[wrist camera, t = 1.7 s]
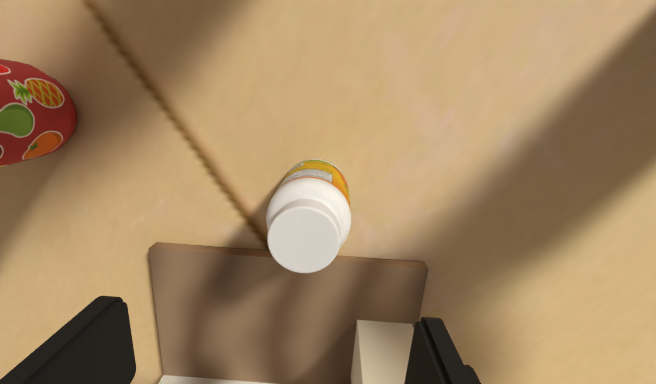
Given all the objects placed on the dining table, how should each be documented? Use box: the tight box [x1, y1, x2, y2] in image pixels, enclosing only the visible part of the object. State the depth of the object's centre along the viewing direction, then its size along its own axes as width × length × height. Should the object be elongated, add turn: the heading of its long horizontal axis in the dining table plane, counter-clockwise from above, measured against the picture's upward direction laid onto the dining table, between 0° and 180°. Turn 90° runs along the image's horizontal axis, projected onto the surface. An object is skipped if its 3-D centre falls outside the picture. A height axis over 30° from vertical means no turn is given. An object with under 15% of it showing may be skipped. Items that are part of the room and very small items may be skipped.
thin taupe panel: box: [149, 242, 428, 384], centre depth 28 cm, size 24×15×3 cm, turn 86°
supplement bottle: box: [266, 159, 351, 273], centre depth 21 cm, size 5×5×10 cm
